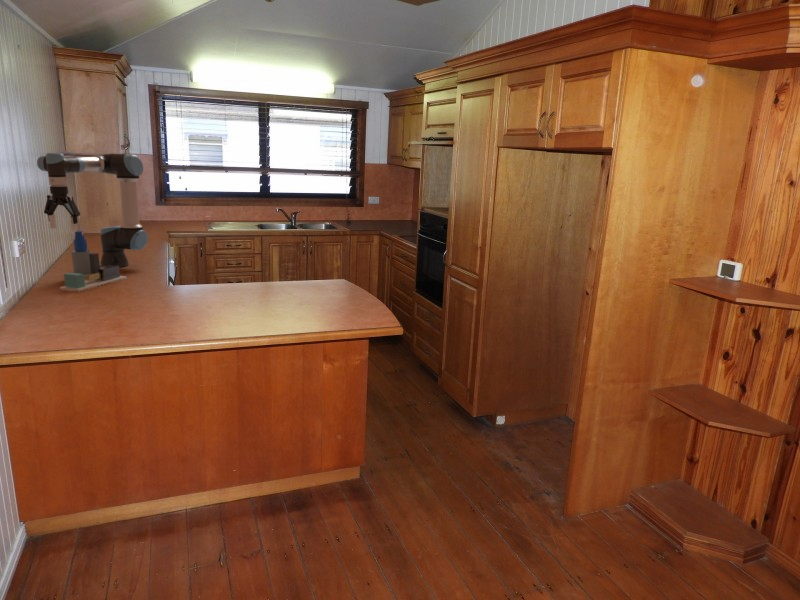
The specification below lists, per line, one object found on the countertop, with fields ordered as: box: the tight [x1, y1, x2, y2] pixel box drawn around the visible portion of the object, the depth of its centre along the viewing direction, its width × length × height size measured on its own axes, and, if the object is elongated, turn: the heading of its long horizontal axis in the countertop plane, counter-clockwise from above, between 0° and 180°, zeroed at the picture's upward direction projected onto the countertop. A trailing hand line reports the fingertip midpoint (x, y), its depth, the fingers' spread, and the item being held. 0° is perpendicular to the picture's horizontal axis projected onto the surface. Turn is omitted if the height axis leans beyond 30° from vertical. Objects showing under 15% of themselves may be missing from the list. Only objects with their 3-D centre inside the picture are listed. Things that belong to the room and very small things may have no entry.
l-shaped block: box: [84, 252, 102, 281], centre depth 292 cm, size 18×3×13 cm, turn 164°
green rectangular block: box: [63, 272, 85, 288], centre depth 278 cm, size 4×8×6 cm, turn 74°
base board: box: [59, 275, 128, 293], centre depth 290 cm, size 32×12×1 cm, turn 164°
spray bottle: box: [71, 230, 92, 275], centre depth 300 cm, size 9×9×25 cm
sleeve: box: [95, 265, 121, 281], centre depth 297 cm, size 11×6×6 cm, turn 164°
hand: (64, 229), depth 280 cm, fingers open, 13 cm apart
